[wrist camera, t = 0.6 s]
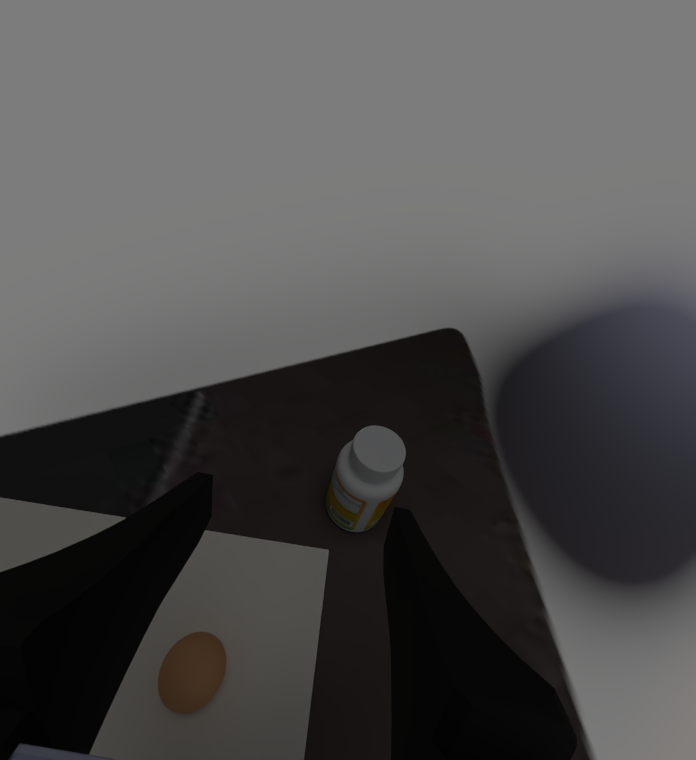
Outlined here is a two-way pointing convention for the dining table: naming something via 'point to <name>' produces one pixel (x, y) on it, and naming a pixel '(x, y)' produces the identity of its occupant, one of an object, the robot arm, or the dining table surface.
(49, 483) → the dining table surface
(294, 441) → the dining table surface
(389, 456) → the supplement bottle
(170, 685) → the ball
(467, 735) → the robot arm
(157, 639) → the white flat board
